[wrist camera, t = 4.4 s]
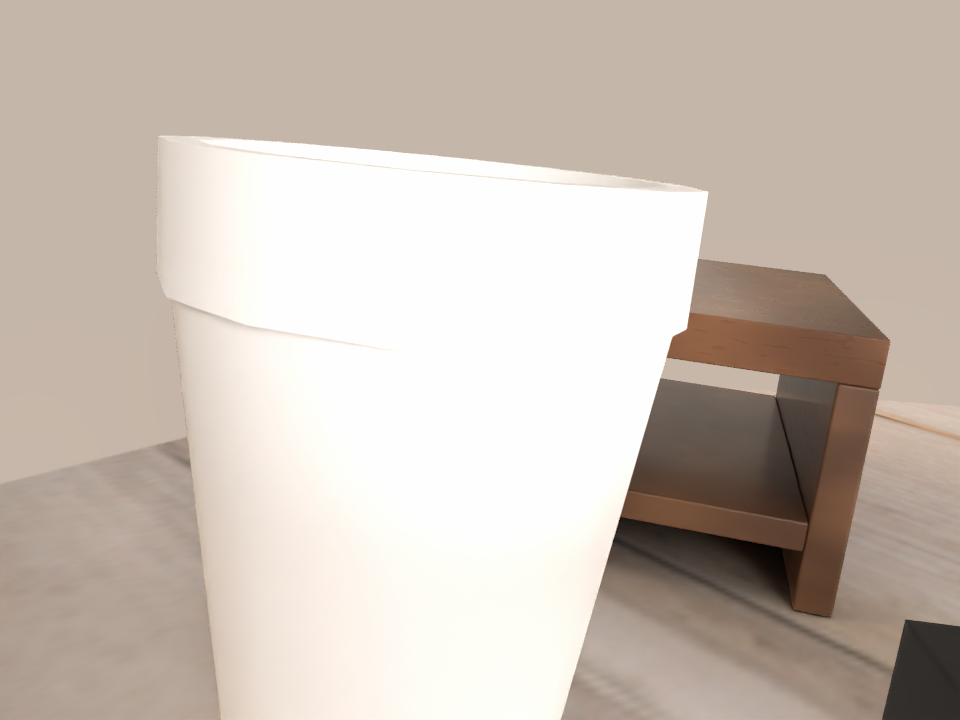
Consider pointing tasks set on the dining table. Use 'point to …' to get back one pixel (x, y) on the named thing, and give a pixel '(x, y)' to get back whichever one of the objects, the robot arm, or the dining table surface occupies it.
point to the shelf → (766, 422)
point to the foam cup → (411, 414)
